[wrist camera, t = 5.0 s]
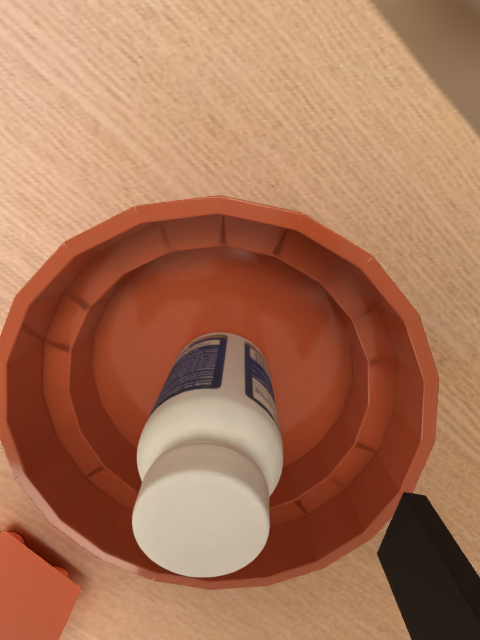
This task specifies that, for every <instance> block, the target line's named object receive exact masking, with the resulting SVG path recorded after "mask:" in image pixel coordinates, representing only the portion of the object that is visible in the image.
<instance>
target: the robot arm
mask: <svg viewBox="0 0 480 640" xmlns="http://www.w3.org/2000/svg"><path fill="white" fill-rule="evenodd" d="M377 555H378V557H379V560H380V562H381V565H382V567H383V570H384V572H385V575H386V577H387V580H388V582H389V585H390V587H391V590H392V592H393V595H394V597H395V600H396V602H397V605H398V607H399V610H400V612H401V615H402V617H403V620H404V622H405V624H406V627H407V629H408V632H409V634H410V637H411V639H412V640H480V578H479V576H478V575H477V573H476V572H475V570H474V568H473V567H472V565H471V564H470V562H469V561H468V559H467V558H466V556H465V555H464V553H463V552H462V550H461V549H460V547H459V546H458V544H457V543H456V541H455V540H454V538H453V537H452V535H451V534H450V532H449V530H448V529H447V527H446V526H445V524H444V523H443V521H442V520H441V518H440V517H439V515H438V514H437V512H436V511H435V509H434V508H433V506H432V505H431V503H430V502H429V500H428V499H427V497H426V496H424V495H419V494H413V493H407V492H403V494H402V497H401V499H400V501H399V504H398V506H397V508H396V510H395V513H394V515H393V517H392V520H391V522H390V524H389V527H388V529H387V531H386V534H385V536H384V538H383V541H382V543H381V545H380V548H379V550H378V552H377Z"/></svg>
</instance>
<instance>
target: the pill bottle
mask: <svg viewBox="0 0 480 640" xmlns="http://www.w3.org/2000/svg"><path fill="white" fill-rule="evenodd" d="M137 466H138V471H139V475H140V478H141V481H142V485H141V488H140V491H139V494H138V497H137V500H136V503H135V506H134V510H133V515H132V527H133V533H134V536H135V539H136V541H137V543H138V545H139V547H140V548H141V549H142V550H143V552H144V553H145V554H146V555H147V556H148V557H149V558H150V559H151V560H152V561H154V562H155V563H156V564H158V565H160V566H161V567H163V568H165V569H167V570H169V571H171V572H174V573H177V574H180V575H184V576H190V577H216V576H221V575H226V574H229V573H232V572H235V571H237V570H239V569H241V568H243V567H245V566H246V565H247V564H249V563H250V562H252V561H253V560H254V559H255V558H256V557H257V556H258V555H259V553H260V552H261V551H262V550H263V548H264V546H265V544H266V542H267V539H268V535H269V529H270V516H269V497H270V495H271V494H272V493H273V491H274V489H275V488H276V486H277V484H278V482H279V479H280V476H281V473H282V467H283V444H282V438H281V433H280V428H279V422H278V415H277V410H276V404H275V398H274V393H273V387H272V381H271V375H270V371H269V367H268V364H267V362H266V359H265V357H264V356H263V354H262V353H261V351H260V350H259V349H258V348H257V347H256V346H255V345H254V344H253V343H252V342H251V341H249V340H247V339H245V338H243V337H241V336H238V335H235V334H231V333H224V332H214V333H209V334H205V335H202V336H199V337H197V338H196V339H194V340H192V341H191V342H190V343H189V344H187V345H186V346H185V347H184V349H183V350H182V351H181V352H180V354H179V355H178V357H177V359H176V360H175V362H174V364H173V366H172V369H171V371H170V373H169V375H168V378H167V380H166V382H165V384H164V386H163V388H162V390H161V392H160V395H159V397H158V399H157V401H156V403H155V405H154V407H153V409H152V411H151V413H150V416H149V418H148V420H147V422H146V424H145V426H144V428H143V431H142V434H141V436H140V440H139V443H138V449H137Z"/></svg>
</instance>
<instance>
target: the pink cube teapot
mask: <svg viewBox="0 0 480 640" xmlns="http://www.w3.org/2000/svg"><path fill="white" fill-rule="evenodd" d="M80 590H81V588H80V587H79V586H77V585H76V584H75V583H73V582H72V581H71V580H70V579H68V573H67V572H66V571H65V570H64V569H63V568H61V567H57V566H51V565H50V564H49V563H47V562H46V561H45V560H43V559H42V558H41V557H39V556H38V555H37V554H35V553H34V552H33V551H31V550H30V549H29V548H27V547H26V546H25V545H24V540H23V538H22V537H21V536H20V535H19V534H17V533H14V532H6V531H5V530H4V531H2V532H1V533H0V640H59V638H60V636H61V634H62V631H63V629H64V627H65V625H66V622H67V620H68V618H69V615H70V613H71V611H72V609H73V606H74V604H75V602H76V599H77V597H78V595H79V593H80Z"/></svg>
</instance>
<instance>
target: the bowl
mask: <svg viewBox="0 0 480 640" xmlns="http://www.w3.org/2000/svg"><path fill="white" fill-rule="evenodd" d="M214 332H224V333H231V334H235V335H238V336H241V337H243V338H245V339H247V340H249V341H251V342H252V343H253V344H254V345H255V346H256V347H257V348H258V349H259V350H260V351H261V353H262V354H263V356H264V357H265V359H266V362H267V364H268V367H269V371H270V375H271V381H272V387H273V393H274V398H275V404H276V410H277V415H278V422H279V428H280V433H281V438H282V444H283V467H282V473H281V476H280V479H279V482H278V484H277V486H276V488H275V489H274V491H273V493H272V494H271V495H270V497H269V516H270V529H269V535H268V539H267V542H266V544H265V546H264V548H263V550H262V551H261V552H260V553H259V555H258V556H257V557H256V558H255V559H254V560H253V561H252V562H250V563H249V564H247V565H246V566H245V567H243V568H241V569H239V570H237V571H235V572H232V573H229V574H226V575H221V576H216V577H190V576H184V575H180V574H177V573H174V572H171V571H169V570H167V569H165V568H163V567H161V566H160V565H158V564H156V563H155V562H154V561H152V560H151V559H150V558H149V557H148V556H147V555H146V554H145V553H144V552H143V550H142V549H141V548H140V547H139V545H138V543H137V541H136V539H135V536H134V533H133V527H132V515H133V510H134V506H135V503H136V500H137V497H138V494H139V491H140V488H141V485H142V481H141V478H140V475H139V471H138V466H137V449H138V443H139V440H140V436H141V434H142V431H143V428H144V426H145V424H146V422H147V420H148V418H149V416H150V413H151V411H152V409H153V407H154V405H155V403H156V401H157V399H158V397H159V395H160V392H161V390H162V388H163V386H164V384H165V382H166V380H167V378H168V375H169V373H170V371H171V369H172V366H173V364H174V362H175V360H176V359H177V357H178V355H179V354H180V352H181V351H182V350H183V349H184V347H185V346H186V345H187V344H189V343H190V342H191V341H192V340H194V339H196V338H197V337H199V336H202V335H205V334H209V333H214ZM438 378H439V376H438V373H437V370H436V367H435V364H434V360H433V357H432V354H431V351H430V348H429V345H428V341H427V338H426V335H425V332H424V329H423V325H422V322H421V319H420V316H419V315H418V312H417V311H416V309H415V308H414V307H413V306H412V304H411V303H410V302H409V301H408V299H407V298H406V297H405V296H404V294H403V293H402V292H401V291H400V289H399V288H398V287H397V286H396V284H395V283H394V282H393V281H392V279H391V278H390V277H389V276H388V274H387V273H386V272H385V271H384V269H383V268H382V267H381V266H380V264H379V263H378V262H377V261H376V259H375V258H374V257H373V256H371V254H369V253H368V252H366V251H364V250H363V249H361V248H360V247H358V246H356V245H355V244H353V243H351V242H350V241H348V240H346V239H345V238H343V237H341V236H340V235H338V234H337V233H335V232H333V231H332V230H330V229H328V228H327V227H325V226H323V225H322V224H320V223H318V222H317V221H315V220H314V219H312V218H310V217H309V216H307V215H305V214H302V213H300V212H296V211H291V210H286V209H282V208H277V207H272V206H268V205H263V204H258V203H254V202H249V201H244V200H240V199H235V198H230V197H226V196H218V195H217V196H209V197H201V198H193V199H185V200H177V201H169V202H161V203H153V204H145V205H137V206H134V207H132V208H130V209H128V210H126V211H124V212H122V213H120V214H118V215H116V216H114V217H112V218H110V219H108V220H106V221H104V222H102V223H100V224H98V225H96V226H94V227H92V228H90V229H88V230H86V231H84V232H82V233H80V234H78V235H76V236H74V237H72V238H70V239H68V240H67V241H65V243H63V244H62V245H61V246H60V247H59V248H58V249H57V250H56V251H55V253H54V254H53V255H52V256H51V257H50V258H49V259H48V260H47V261H46V262H45V264H44V265H43V266H42V267H41V268H40V269H39V270H38V271H37V272H36V273H35V275H34V276H33V277H32V278H31V279H30V280H29V281H28V282H27V283H26V285H25V286H24V287H23V288H22V289H21V290H20V291H19V292H18V293H17V294H16V297H15V298H14V300H13V303H12V306H11V308H10V311H9V314H8V316H7V319H6V322H5V325H4V327H3V330H2V333H1V335H0V441H1V444H2V446H3V449H4V452H5V454H6V457H7V460H8V462H9V465H10V467H11V470H12V473H13V475H14V477H15V480H16V481H17V482H18V483H19V485H20V486H21V487H22V488H23V490H24V491H25V492H26V493H27V495H28V496H29V497H30V498H31V500H32V501H33V502H34V503H35V505H36V506H37V507H38V508H39V510H40V511H41V512H42V513H43V515H44V516H45V517H46V519H47V520H48V521H49V522H50V524H52V525H53V526H55V527H56V528H57V529H59V530H60V531H61V532H63V533H64V534H66V535H67V536H68V537H70V538H71V539H72V540H74V541H75V542H77V543H78V544H79V545H81V546H82V547H83V548H85V549H86V550H87V551H89V552H90V553H92V554H93V555H94V556H96V557H97V558H100V559H101V560H103V561H106V562H108V563H111V564H113V565H115V566H118V567H120V568H123V569H125V570H128V571H130V572H133V573H135V574H138V575H140V576H143V577H145V578H147V579H150V580H154V581H158V582H164V583H170V584H177V585H183V586H189V587H196V588H202V589H208V590H210V589H211V590H215V589H230V588H244V587H258V586H268V585H272V584H276V583H279V582H282V581H285V580H288V579H292V578H295V577H298V576H301V575H304V574H308V573H311V572H314V571H317V570H320V569H323V568H325V567H327V566H329V565H330V564H332V563H333V562H335V561H337V560H338V559H340V558H341V557H343V556H345V555H346V554H348V553H349V552H351V551H353V550H354V549H356V548H358V547H359V546H361V545H362V544H364V543H366V542H367V541H369V540H370V539H372V538H373V537H374V536H375V535H376V534H377V533H378V532H379V531H380V529H381V528H382V527H383V526H384V525H385V524H386V523H387V522H388V521H389V520H390V518H391V517H392V516H393V515H394V513H395V510H396V508H397V506H398V504H399V501H400V499H401V497H402V494H403V492H407V493H413V490H414V488H415V486H416V484H417V481H418V479H419V477H420V475H421V472H422V470H423V468H424V465H425V463H426V461H427V459H428V456H429V454H430V452H431V450H432V447H433V445H434V443H435V435H436V420H437V405H438V389H439V379H438Z"/></svg>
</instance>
